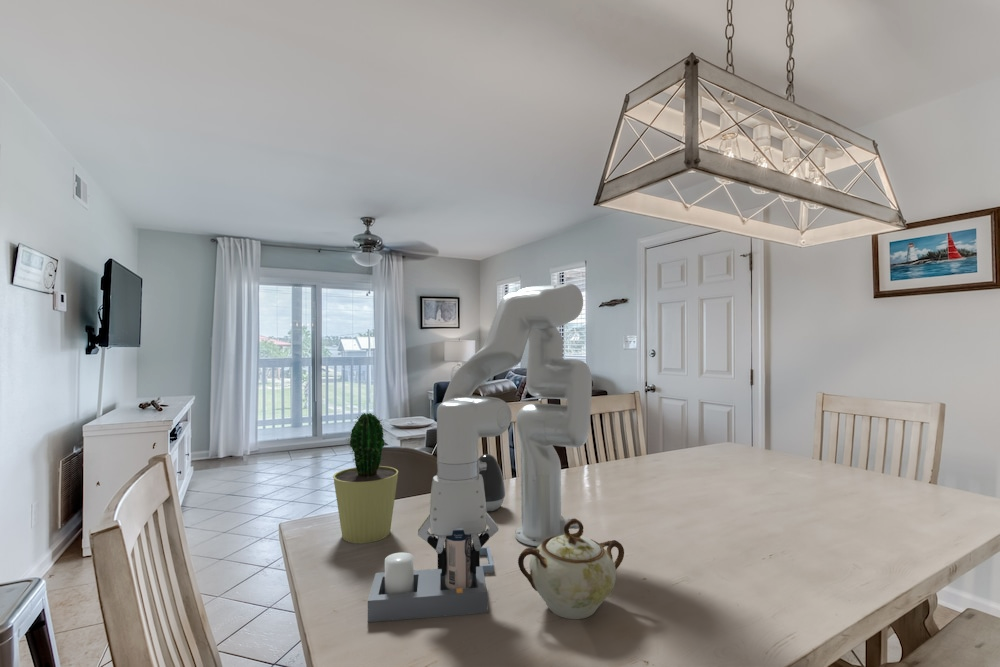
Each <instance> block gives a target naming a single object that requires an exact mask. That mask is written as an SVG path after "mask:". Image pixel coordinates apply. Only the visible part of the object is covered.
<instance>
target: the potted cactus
mask: <svg viewBox="0 0 1000 667" xmlns="http://www.w3.org/2000/svg"><path fill="white" fill-rule="evenodd" d="M354 419H355V423H354V424H353V425H354V426H353V427H352V429H351V428H350V431H351V432H350V436H349V437H348V438H346V439H345V440H347V442H348V447H349V449H351V450H352V451H351V450H350V453H351V454H352V462H354V466H355V467H351V468H347V469H343V470H340V471H337V472H336V473H334V474H333V475H332V478H333V485H334V489H335V498H336V503H337V509H338V517H339V523H340V531H341V536H342V540H344V541H345V542H347V541H348V543H350V542H352V543H351V544H368V543H375V542H378V541H381V540H384V539H385V538H387V537H388V536H389V535H390V534H391V529H392V528H391V527H392V521H393V515H394V514H393V513H394V506H395V498H396V492H397V491H396V490H397V484H398V478H399V476H398V475H399V470H398V469H396V468H394V467H391V466H383V465H382V464H381V463H383V462H386V461H384V460H385V457H386V456H384V455H382V454H385V452H384V447H387V444H386V445H385V442H387V440H386V439H384V438H386V437H385V435H384V433H385V432H386V430H385V428H383V427H384V424H383V423H382V422H381V421H382V419H381V420H380V419H379V417H378V416H377V414H376V413H375V414H374V413H371V412H366V413H364V412H363V413H361V414H359V416H356V418H355V417H354ZM347 435H349V433H347ZM382 456H383V457H384V458H382Z"/></svg>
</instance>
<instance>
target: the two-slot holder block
mask: <svg viewBox="0 0 1000 667" xmlns="http://www.w3.org/2000/svg"><path fill="white" fill-rule="evenodd" d="M414 566H415V565H414V555H413V554H412V553H410V552H395V553H391V554H389V555H387V556H386V557H385V558H384V572H383V571H382V572H375V574H374V578H373V580H372V584H371V588H370V591H369V595H368V598H367V623H374V622H375V623H376V622H387V621H400V620H402V621H403V620H413V619H424V618H426V619H427V618H438V617H450V616H452V617H453V616H464V615H466V616H467V615H475V614H476V615H477V614H488V613H489V611H488V610H489V608H488V607H489V606H488V603H489V602H488V601H489V600H488V599H489V598H488V592H489V591H488V588H487V583H486V578H485V577H486V576H485V573H484V571H483V566H480V567H476V574H473V573H472V585H471V586H470V587H469V588H466V589H462V588H456V589H452V590H450V589H448V588H447V587H446V585H445V575H444V576H442V569H438V568H431V569H430V568H429V569H416V570H415V569H414Z"/></svg>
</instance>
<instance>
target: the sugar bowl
mask: <svg viewBox="0 0 1000 667" xmlns="http://www.w3.org/2000/svg"><path fill="white" fill-rule="evenodd" d="M579 520H580V519H577V518H573V519H571V520H570V521H568V522H567V523H566V524H565V526H564V533H565V535H559V536H554V537H550V538H547V539H546V540H544V541H543V542H542V544H540V545H539V546H536V548H534V547H527V548H525V549H524V550H522V551H521V553H520V554H519V556H518V558H517V559H518V560H517V564H518V568H519V571H520V572H521V573H522V574H523V576H524V577H525V578H526V579H527V581H528V582H529V584H530V585H531V587H532V589H534V591H535V592H537V593H538V594H539V596H540V598H541V599H542V600H543V601H544V602H545V604H546V605H547V607H548V609H549V610H550V611H551V612H552V613H553V614H554V615H556V616H558V617H561V618H563V619H568V620H581V619H586V618H589V617H591V616H592V615H593V614H595V613H596V611H597V609H598V608H599V607H600V606H601V604H603V602H604V601H605V600H606V599H607V598H608V596H609V595H610V594H611V592H612V590H613V589H614V587H615V583H616V579H617V569H618V568H619V566H620V565H621V564H622V562H623V560H624V556H625V549H624V546H623V545H622V543H620V542H619V541H618V540H616V539H613V540H608V541H604V542H601V543H599V542H597V541H596V540H594V539H591V538H589V537H586V536H584V535H583V534H584V529H585V528H584V524H583V523H582V521H581V522H580V521H579ZM573 524H578V525H579V529H578V531H577V532H574V533H571V532H570V529H569V528H570V526H571V525H573ZM605 547H607V548H606V549H605ZM614 547H615V548H616V549H617V551H618V554H617V558H616V559H615V561H614V559H613V555H612V550H613V548H614ZM530 555H531V557H530V560H529V572H528V571H527V569H526V568H525V565H524V561H525V558H526V557H527V556H530Z"/></svg>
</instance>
